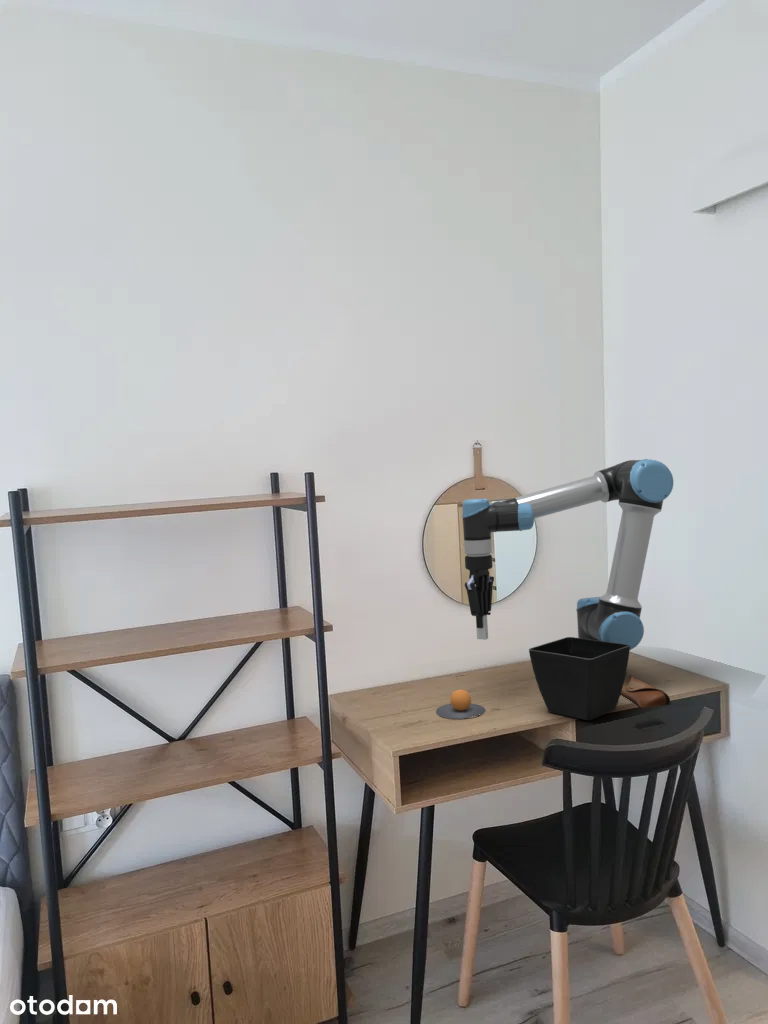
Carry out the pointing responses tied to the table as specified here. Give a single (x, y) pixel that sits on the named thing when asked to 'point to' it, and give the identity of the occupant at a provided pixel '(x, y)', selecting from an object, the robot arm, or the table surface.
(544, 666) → the flower pot
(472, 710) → the disc
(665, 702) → the sunglasses case
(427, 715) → the table surface
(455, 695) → the ball
